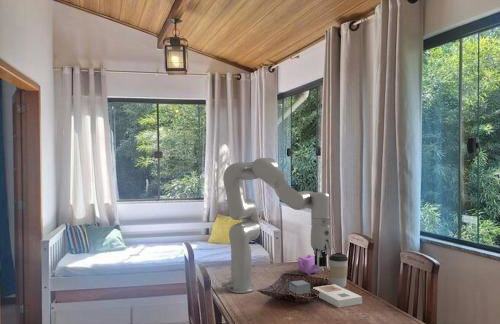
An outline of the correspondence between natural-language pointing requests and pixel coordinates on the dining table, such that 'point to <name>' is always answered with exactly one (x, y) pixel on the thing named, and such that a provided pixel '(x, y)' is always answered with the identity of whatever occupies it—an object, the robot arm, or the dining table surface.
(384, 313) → the dining table surface
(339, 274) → the coffee cup
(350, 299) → the board
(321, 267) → the pin
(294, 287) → the cover
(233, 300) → the dining table surface
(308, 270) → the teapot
